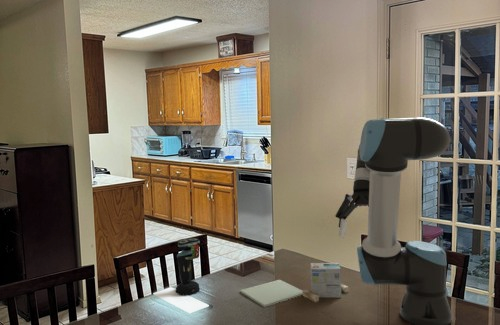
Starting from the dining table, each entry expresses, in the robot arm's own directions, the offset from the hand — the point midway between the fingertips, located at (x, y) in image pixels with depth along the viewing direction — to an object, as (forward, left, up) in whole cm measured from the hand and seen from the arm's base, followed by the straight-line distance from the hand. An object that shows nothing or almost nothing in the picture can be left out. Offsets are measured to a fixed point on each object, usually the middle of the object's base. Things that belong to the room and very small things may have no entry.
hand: (357, 236), depth 162 cm
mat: (+16, +27, -20) cm, 37 cm away
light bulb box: (+4, +12, -20) cm, 24 cm away
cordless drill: (+36, +51, -20) cm, 66 cm away
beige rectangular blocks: (+4, +12, -20) cm, 24 cm away
